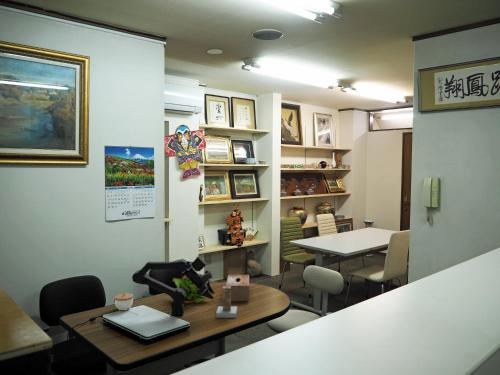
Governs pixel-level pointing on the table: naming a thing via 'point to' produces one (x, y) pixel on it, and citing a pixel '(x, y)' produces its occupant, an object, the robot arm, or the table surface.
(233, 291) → the tissue box cover
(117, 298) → the lidded jar
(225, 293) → the walnut block
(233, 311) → the slate base
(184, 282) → the potted flower
